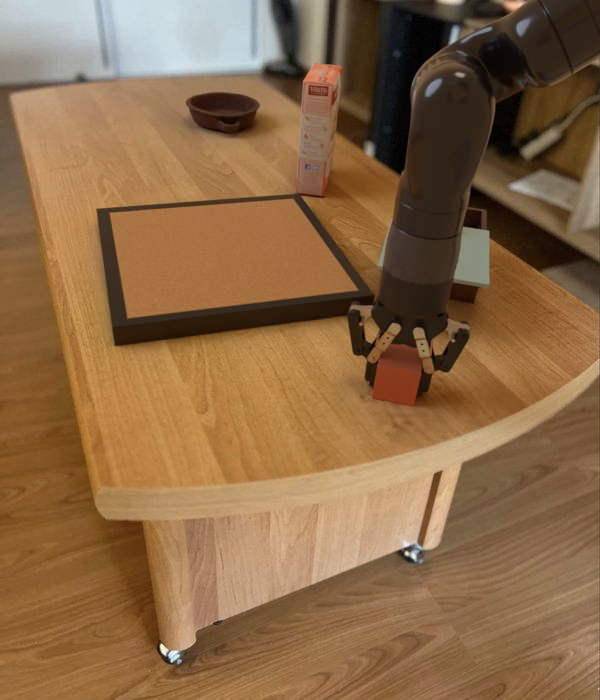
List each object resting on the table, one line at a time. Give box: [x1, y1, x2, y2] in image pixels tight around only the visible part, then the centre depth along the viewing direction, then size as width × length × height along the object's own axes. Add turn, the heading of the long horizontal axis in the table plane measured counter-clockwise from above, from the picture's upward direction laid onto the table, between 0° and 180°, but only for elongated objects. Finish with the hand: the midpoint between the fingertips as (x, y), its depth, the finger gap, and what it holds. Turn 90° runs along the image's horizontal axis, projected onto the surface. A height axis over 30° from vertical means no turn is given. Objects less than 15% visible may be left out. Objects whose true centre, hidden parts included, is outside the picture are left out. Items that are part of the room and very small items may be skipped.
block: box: [371, 344, 422, 407], centre depth 75 cm, size 5×5×5 cm
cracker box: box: [295, 62, 343, 198], centre depth 120 cm, size 14×6×21 cm, turn 171°
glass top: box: [376, 215, 491, 289], centre depth 87 cm, size 14×16×4 cm
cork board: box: [95, 193, 375, 347], centre depth 97 cm, size 36×3×35 cm
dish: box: [185, 91, 261, 134], centre depth 151 cm, size 18×22×5 cm
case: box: [449, 206, 488, 304], centre depth 98 cm, size 14×16×8 cm
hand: (396, 386), depth 76 cm, fingers closed on block, 5 cm apart
